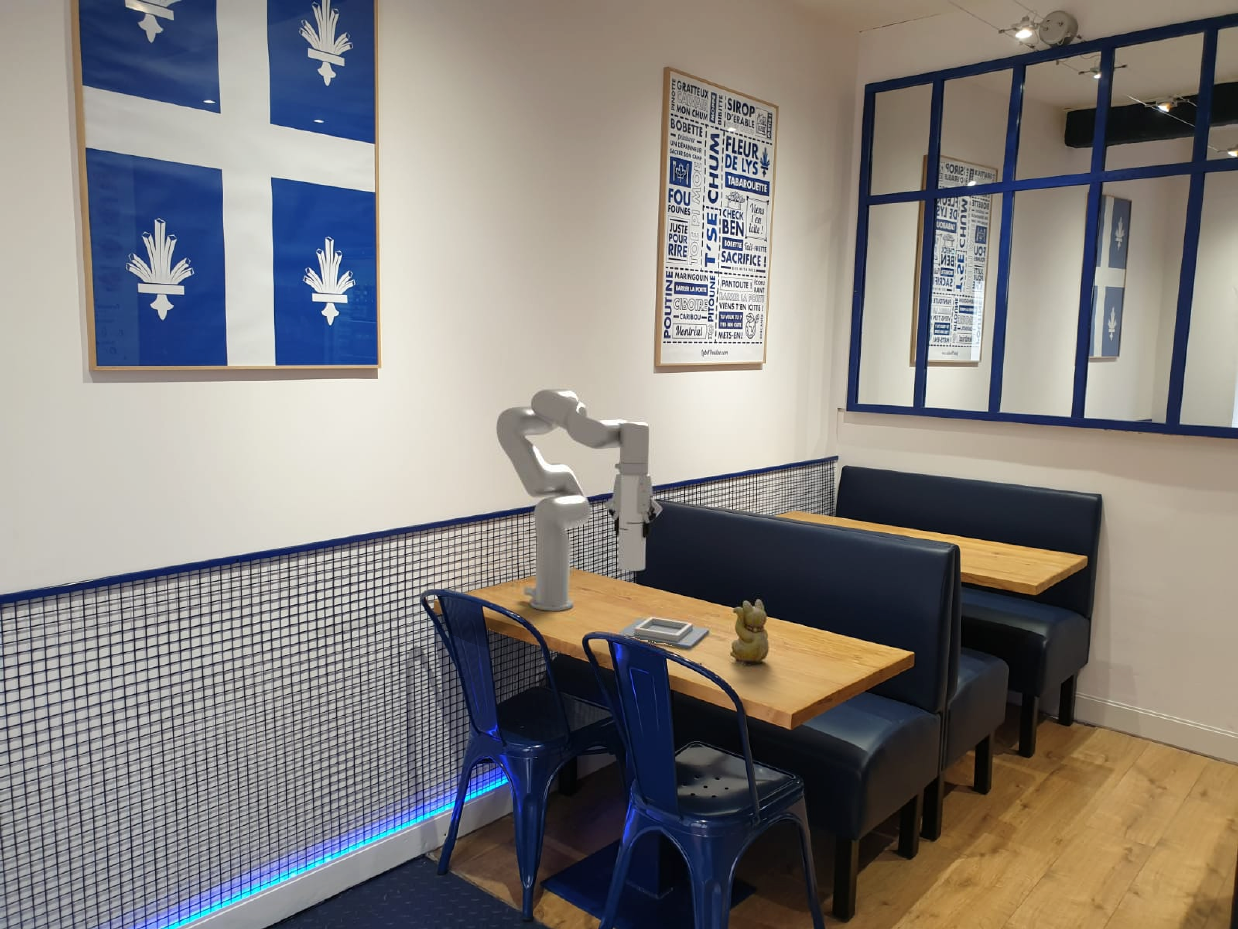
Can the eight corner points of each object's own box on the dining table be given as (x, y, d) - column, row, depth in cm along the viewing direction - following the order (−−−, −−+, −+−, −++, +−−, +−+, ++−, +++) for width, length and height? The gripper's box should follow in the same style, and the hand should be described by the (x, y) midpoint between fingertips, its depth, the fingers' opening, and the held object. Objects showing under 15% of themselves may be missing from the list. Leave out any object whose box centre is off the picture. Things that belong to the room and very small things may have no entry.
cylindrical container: (642, 571, 246) (644, 476, 243) (615, 569, 247) (617, 475, 245) (647, 566, 253) (649, 473, 250) (621, 564, 254) (623, 472, 252)
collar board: (616, 637, 244) (617, 628, 243) (639, 621, 258) (639, 612, 258) (690, 649, 236) (690, 640, 236) (709, 632, 251) (709, 623, 251)
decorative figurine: (752, 653, 235) (755, 595, 233) (777, 662, 229) (781, 602, 227) (725, 660, 229) (728, 600, 227) (750, 670, 223) (753, 608, 221)
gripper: (597, 468, 247) (596, 535, 249) (659, 472, 240) (658, 541, 242) (609, 465, 254) (608, 530, 256) (669, 469, 247) (668, 536, 249)
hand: (632, 535), depth 249 cm, fingers closed on cylindrical container, 7 cm apart
